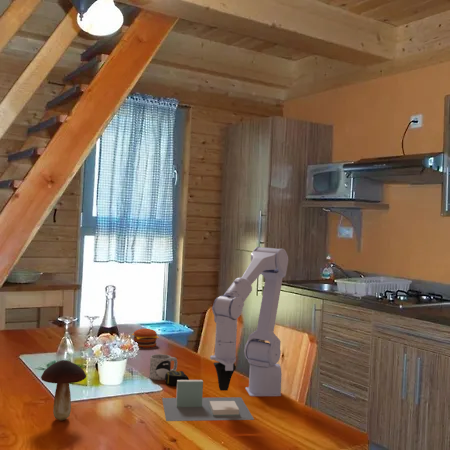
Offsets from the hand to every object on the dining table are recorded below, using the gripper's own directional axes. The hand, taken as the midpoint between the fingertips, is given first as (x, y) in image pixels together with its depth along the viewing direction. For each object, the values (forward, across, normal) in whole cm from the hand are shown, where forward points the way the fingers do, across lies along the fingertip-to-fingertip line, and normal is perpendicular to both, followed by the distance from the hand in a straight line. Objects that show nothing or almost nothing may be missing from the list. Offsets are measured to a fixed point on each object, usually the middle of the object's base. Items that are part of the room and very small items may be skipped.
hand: (223, 389), depth 157 cm
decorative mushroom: (+6, +6, -42) cm, 43 cm away
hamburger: (+6, -76, -19) cm, 78 cm away
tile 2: (+5, -2, -9) cm, 11 cm away
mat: (+6, 0, -4) cm, 7 cm away
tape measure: (+6, -24, -10) cm, 27 cm away
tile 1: (+4, -2, 0) cm, 5 cm away
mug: (+6, -32, -14) cm, 36 cm away
